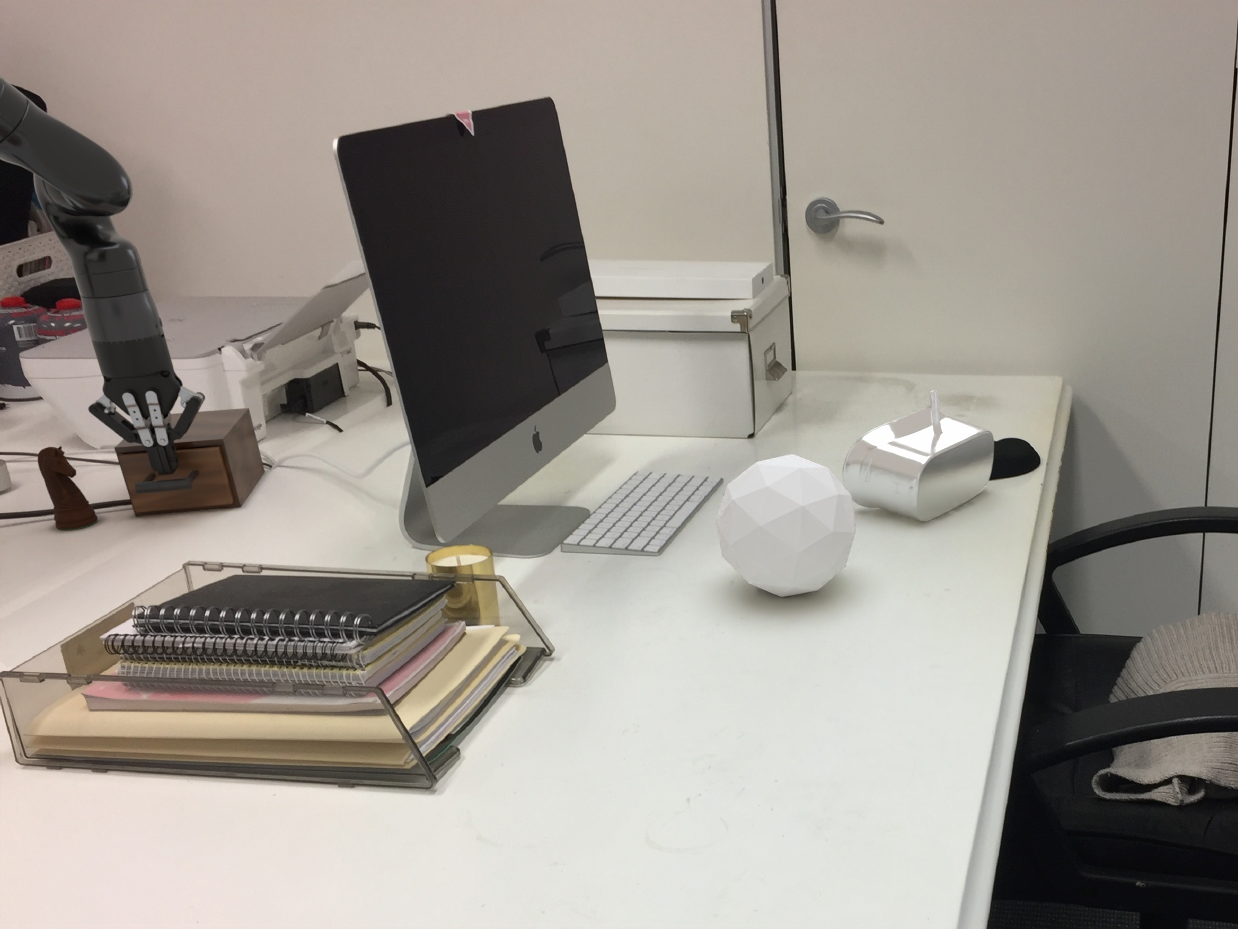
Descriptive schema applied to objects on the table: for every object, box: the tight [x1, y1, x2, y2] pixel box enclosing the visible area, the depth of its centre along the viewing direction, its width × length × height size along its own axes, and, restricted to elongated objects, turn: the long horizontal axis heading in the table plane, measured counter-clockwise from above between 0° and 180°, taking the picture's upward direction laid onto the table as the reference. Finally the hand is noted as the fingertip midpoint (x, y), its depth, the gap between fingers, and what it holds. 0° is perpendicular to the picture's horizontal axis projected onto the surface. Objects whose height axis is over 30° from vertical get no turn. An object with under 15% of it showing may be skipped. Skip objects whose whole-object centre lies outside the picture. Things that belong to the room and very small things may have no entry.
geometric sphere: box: [715, 453, 857, 598], centre depth 130 cm, size 14×15×15 cm
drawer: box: [119, 445, 234, 512], centre depth 159 cm, size 19×11×7 cm, turn 12°
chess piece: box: [37, 445, 99, 531], centre depth 154 cm, size 5×5×10 cm
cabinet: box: [114, 407, 266, 517], centre depth 163 cm, size 15×13×9 cm
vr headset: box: [842, 389, 995, 522], centre depth 153 cm, size 18×11×14 cm, turn 142°
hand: (168, 473), depth 153 cm, fingers closed
